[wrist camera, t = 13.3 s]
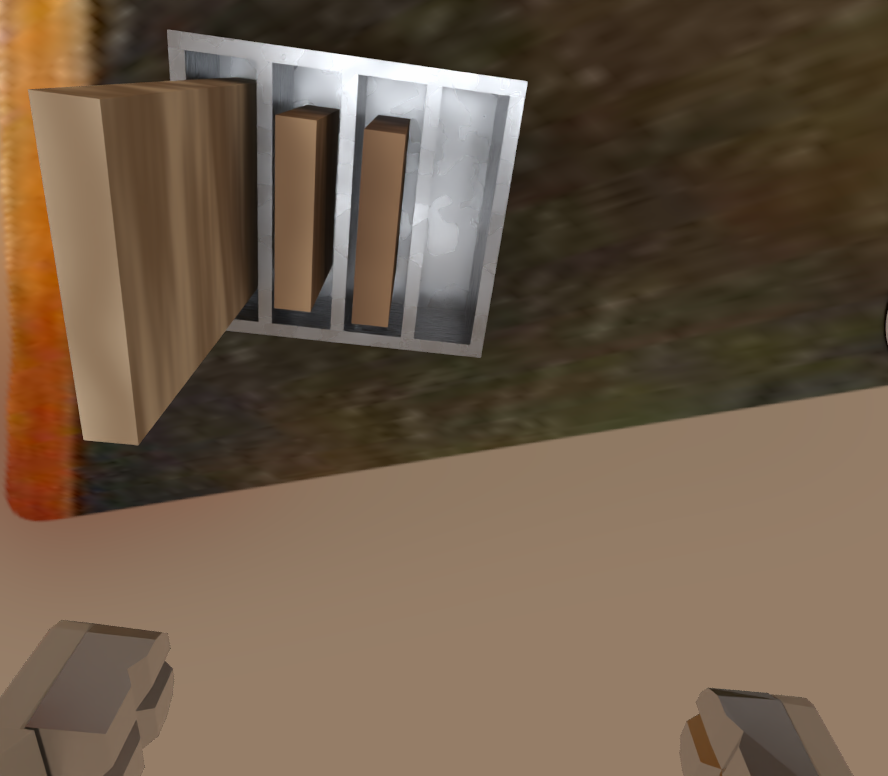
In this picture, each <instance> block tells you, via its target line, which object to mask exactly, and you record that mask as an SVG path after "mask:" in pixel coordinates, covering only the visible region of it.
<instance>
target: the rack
mask: <svg viewBox="0 0 888 776" xmlns="http://www.w3.org/2000/svg"><path fill="white" fill-rule="evenodd" d="M167 37H168V52H169V68H170V81H179V80H196V79H212V78H229V77H238V78H245V79H253V80H257V187H258V288H257V290H256V291H255V292H254V294H253V295H252V296H251V298H250V299H249V300H248V302H247V303H246V304H245V306H244V307H243V308H242V310H241V311H240V312H239V313H238V315H237V316H236V317H235V319H234V320H233V321H232V323H231V324H230V325H229V327H228V328H227V329H226V330H227V331H236V332H245V333H255V334H264V335H273V336H283V337H292V338H301V339H310V340H320V341H329V342H338V343H348V344H357V345H366V346H376V347H385V348H394V349H404V350H413V351H422V352H432V353H441V354H450V355H459V356H469V357H478V358H481V354H482V348H483V342H484V336H485V330H486V324H487V318H488V312H489V307H490V301H491V295H492V289H493V283H494V277H495V271H496V265H497V260H498V254H499V248H500V242H501V236H502V230H503V224H504V218H505V213H506V207H507V201H508V195H509V189H510V183H511V177H512V171H513V166H514V160H515V154H516V148H517V142H518V136H519V130H520V124H521V119H522V113H523V107H524V101H525V95H526V89H527V83H528V81H521V80H515V79H509V78H502V77H495V76H488V75H481V74H474V73H467V72H460V71H453V70H446V69H439V68H432V67H425V66H418V65H411V64H404V63H398V62H391V61H384V60H377V59H370V58H363V57H356V56H349V55H342V54H335V53H328V52H321V51H314V50H307V49H300V48H293V47H286V46H279V45H273V44H266V43H259V42H252V41H245V40H238V39H231V38H224V37H217V36H210V35H203V34H196V33H188V32H181V31H174V30H167ZM304 105H313V106H320V107H327V108H335V109H340V111H339V132H338V153H337V174H336V195H335V216H334V237H333V259H332V268H331V270H330V272H329V274H328V276H327V278H326V280H325V282H324V285H323V287H322V289H321V291H320V293H319V295H318V297H317V299H316V302H315V304H314V306H313V308H312V310H311V312H305V311H296V310H287V309H278V308H274V295H275V115H277V114H280V113H283V112H286V111H289V110H292V109H295V108H298V107H301V106H304ZM377 115H386V116H393V117H400V118H408V119H410V130H409V140H408V151H407V161H406V172H405V182H404V192H403V203H402V213H401V224H400V234H399V245H398V255H397V266H396V275H395V282H394V289H393V295H392V302H391V309H390V315H389V322H388V327H380V326H371V325H362V324H353V323H351V322H352V307H353V291H354V276H355V260H356V245H357V229H358V214H359V198H360V183H361V167H362V152H363V136H364V129H365V128H366V127H367V126H368V125H369V124H370V122H371V121H372V120H373V119H374V118H375V117H376V116H377Z"/></svg>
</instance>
